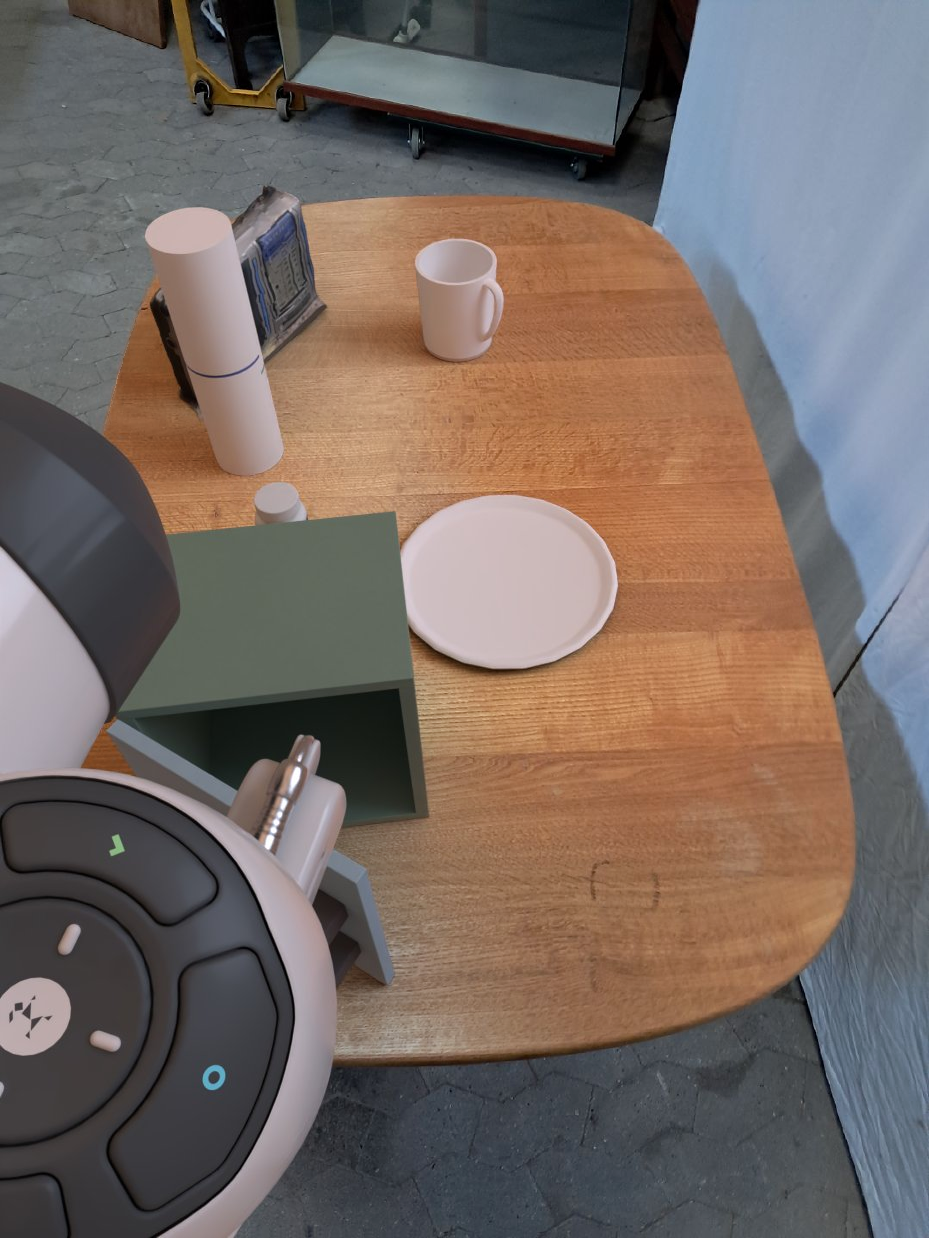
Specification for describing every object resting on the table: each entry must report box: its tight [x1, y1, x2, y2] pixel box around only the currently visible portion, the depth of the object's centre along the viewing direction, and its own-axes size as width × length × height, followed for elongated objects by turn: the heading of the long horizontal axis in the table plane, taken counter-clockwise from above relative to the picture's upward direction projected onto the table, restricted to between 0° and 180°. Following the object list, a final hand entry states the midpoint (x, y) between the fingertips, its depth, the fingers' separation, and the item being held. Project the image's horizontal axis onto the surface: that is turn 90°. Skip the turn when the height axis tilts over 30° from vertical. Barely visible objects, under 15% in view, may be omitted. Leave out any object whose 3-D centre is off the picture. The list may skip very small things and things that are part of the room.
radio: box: [149, 185, 328, 422], centre depth 100 cm, size 23×9×15 cm, turn 143°
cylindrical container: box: [144, 206, 285, 477], centre depth 86 cm, size 7×7×25 cm
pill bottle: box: [253, 481, 309, 525], centre depth 84 cm, size 5×5×8 cm
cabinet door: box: [106, 719, 396, 991], centre depth 57 cm, size 6×18×20 cm, turn 59°
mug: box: [414, 238, 505, 363], centre depth 102 cm, size 11×9×10 cm
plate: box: [400, 494, 619, 671], centre depth 84 cm, size 21×21×1 cm
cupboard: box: [114, 510, 430, 829], centre depth 67 cm, size 14×18×20 cm
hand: (224, 1038), depth 39 cm, fingers open, 8 cm apart
